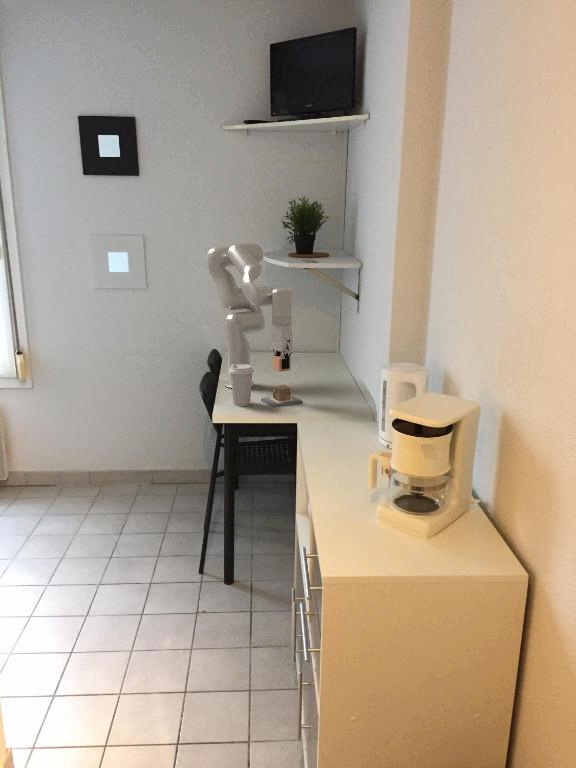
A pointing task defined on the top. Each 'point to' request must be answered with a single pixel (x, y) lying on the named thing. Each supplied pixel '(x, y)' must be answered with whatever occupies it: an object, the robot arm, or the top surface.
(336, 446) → the top surface
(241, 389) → the coffee cup
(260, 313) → the robot arm
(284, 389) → the walnut block
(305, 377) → the top surface
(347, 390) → the top surface
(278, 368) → the terracotta block
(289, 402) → the board
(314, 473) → the top surface
